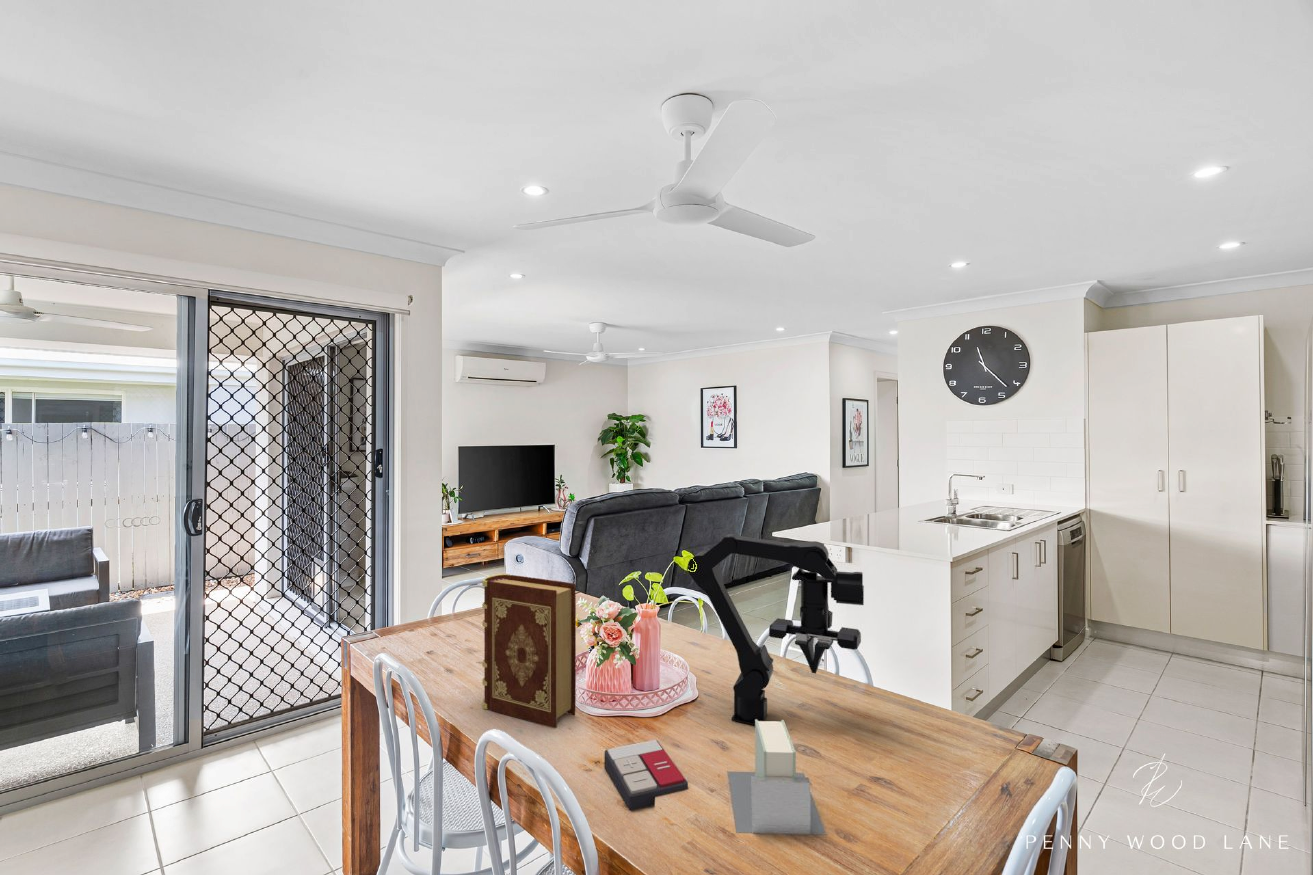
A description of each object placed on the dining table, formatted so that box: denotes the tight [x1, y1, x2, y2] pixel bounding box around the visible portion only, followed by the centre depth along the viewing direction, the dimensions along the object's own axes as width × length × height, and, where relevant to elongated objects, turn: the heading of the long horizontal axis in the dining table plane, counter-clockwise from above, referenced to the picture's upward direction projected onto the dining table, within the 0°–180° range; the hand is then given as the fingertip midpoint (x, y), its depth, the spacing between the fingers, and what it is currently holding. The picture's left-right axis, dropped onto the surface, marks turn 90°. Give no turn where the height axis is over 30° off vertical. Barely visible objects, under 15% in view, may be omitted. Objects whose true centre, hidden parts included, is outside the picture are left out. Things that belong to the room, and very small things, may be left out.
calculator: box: [603, 739, 689, 812], centre depth 113 cm, size 11×4×15 cm
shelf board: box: [727, 770, 827, 836], centre depth 105 cm, size 18×14×2 cm
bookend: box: [751, 776, 811, 835], centre depth 97 cm, size 2×9×8 cm, turn 88°
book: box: [754, 719, 797, 777], centre depth 103 cm, size 11×5×12 cm, turn 178°
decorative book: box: [481, 573, 577, 728], centre depth 142 cm, size 22×8×30 cm, turn 62°
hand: (814, 672), depth 134 cm, fingers closed
